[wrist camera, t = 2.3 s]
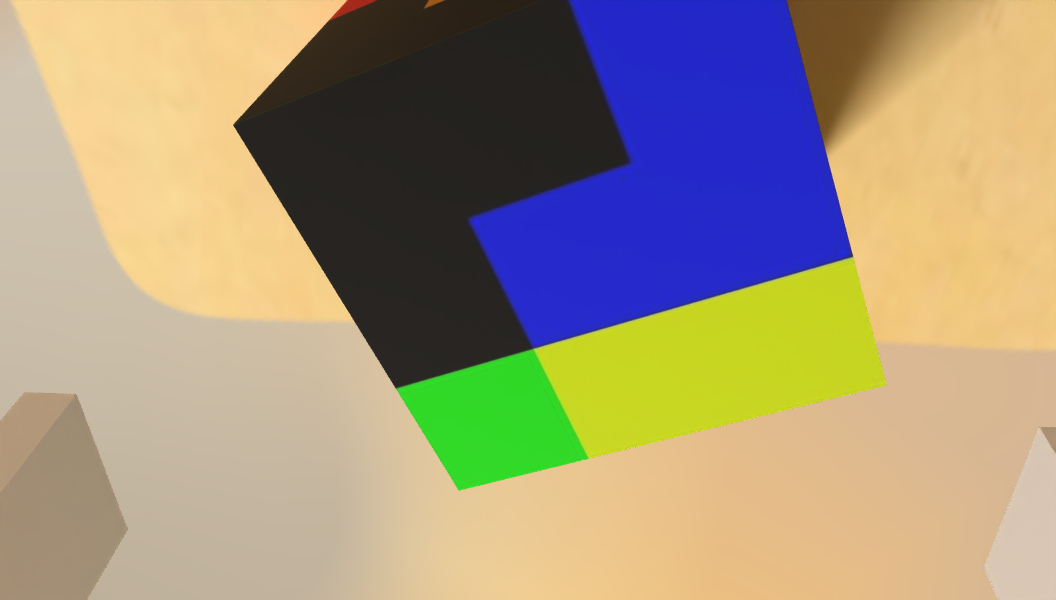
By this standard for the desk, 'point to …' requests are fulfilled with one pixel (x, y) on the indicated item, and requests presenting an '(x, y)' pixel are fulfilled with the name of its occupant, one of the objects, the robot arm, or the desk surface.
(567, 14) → the puzzle toy
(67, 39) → the desk surface
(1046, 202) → the desk surface
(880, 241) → the desk surface
